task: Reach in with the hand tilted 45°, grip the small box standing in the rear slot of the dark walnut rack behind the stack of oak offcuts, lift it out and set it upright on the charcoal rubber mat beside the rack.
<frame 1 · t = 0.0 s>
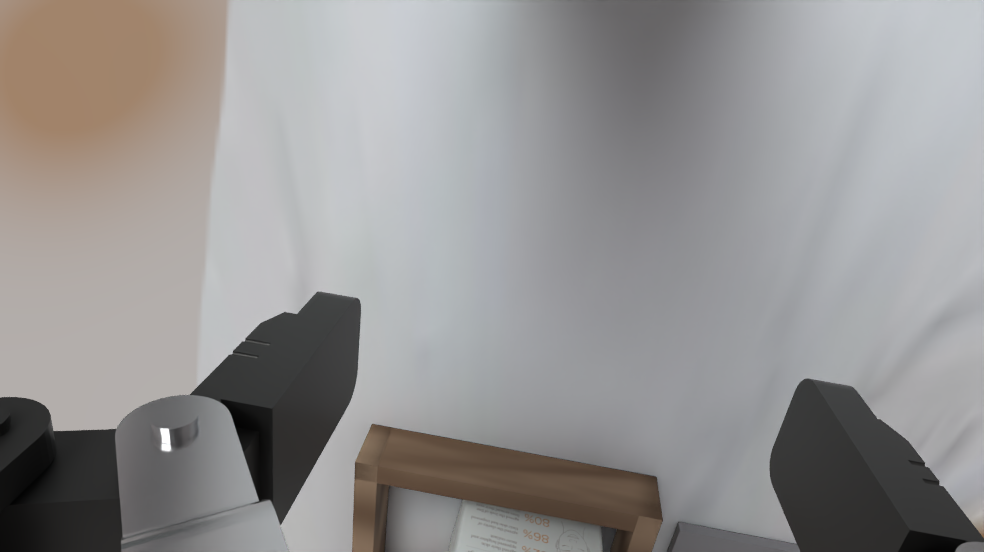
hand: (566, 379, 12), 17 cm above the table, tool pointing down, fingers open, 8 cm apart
small box: (524, 520, 38), resting in walnut rack
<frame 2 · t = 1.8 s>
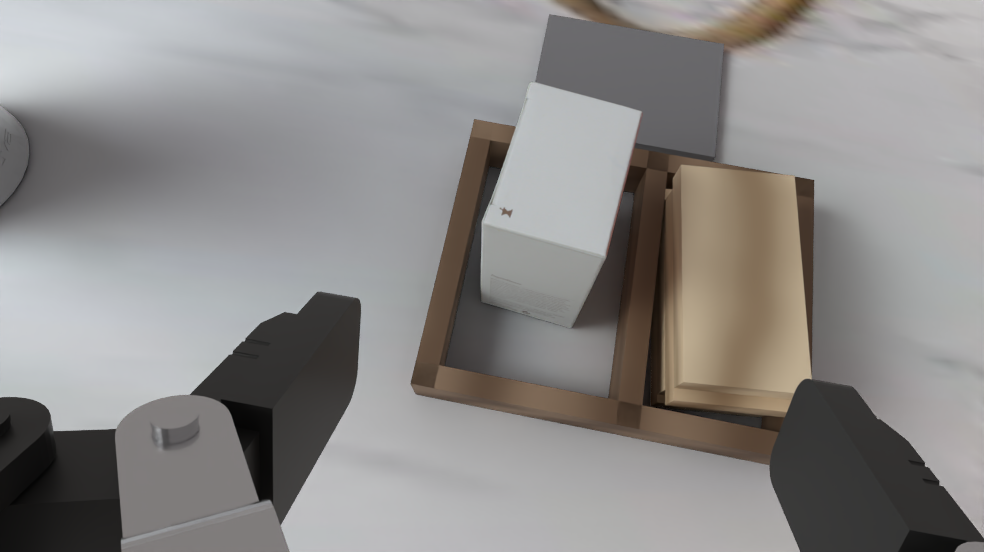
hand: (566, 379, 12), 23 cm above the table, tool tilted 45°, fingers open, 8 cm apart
small box: (542, 257, 38), resting in walnut rack
walnut rack: (614, 293, 37), on the table
charcoal mat: (626, 88, 42), on the table
offcut stack: (701, 312, 37), resting in walnut rack
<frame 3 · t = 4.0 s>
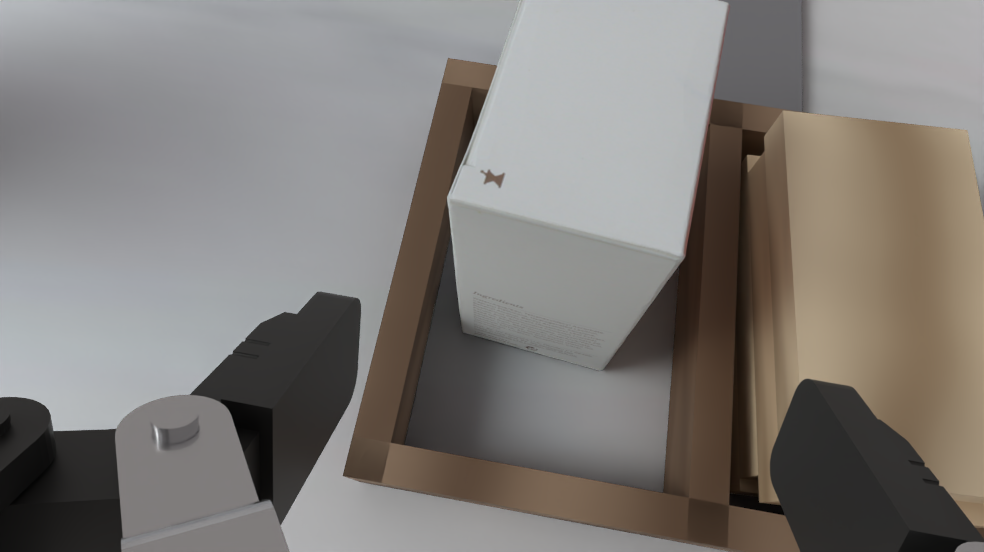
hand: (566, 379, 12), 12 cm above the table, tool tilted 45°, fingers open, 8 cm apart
small box: (554, 262, 25), resting in walnut rack
walnut rack: (665, 314, 24), on the table
charcoal mat: (666, 21, 30), on the table
offcut stack: (799, 344, 24), resting in walnut rack
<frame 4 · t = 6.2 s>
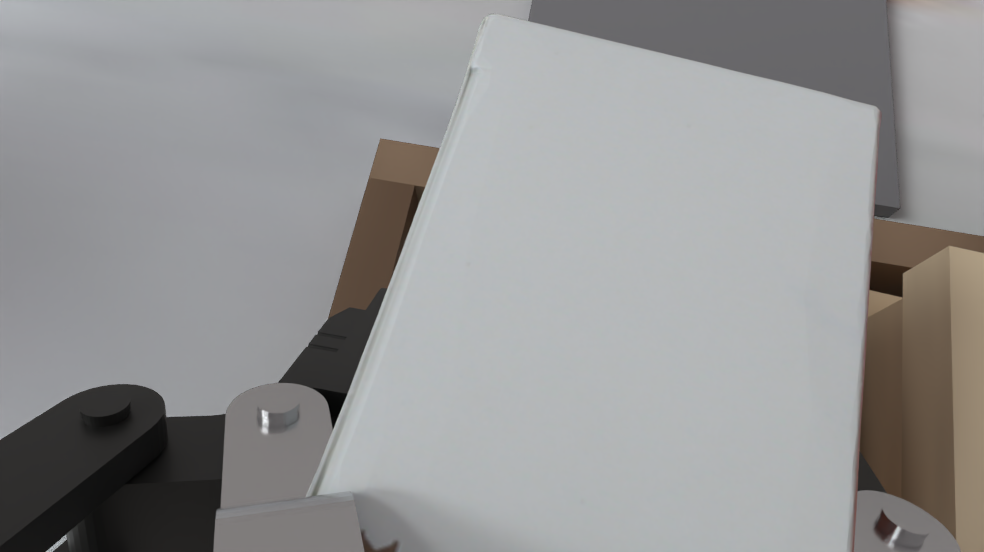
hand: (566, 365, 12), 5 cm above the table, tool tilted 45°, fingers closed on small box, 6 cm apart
small box: (539, 441, 17), resting in walnut rack, touching gripper
walnut rack: (707, 532, 16), on the table
charcoal mat: (700, 70, 21), on the table
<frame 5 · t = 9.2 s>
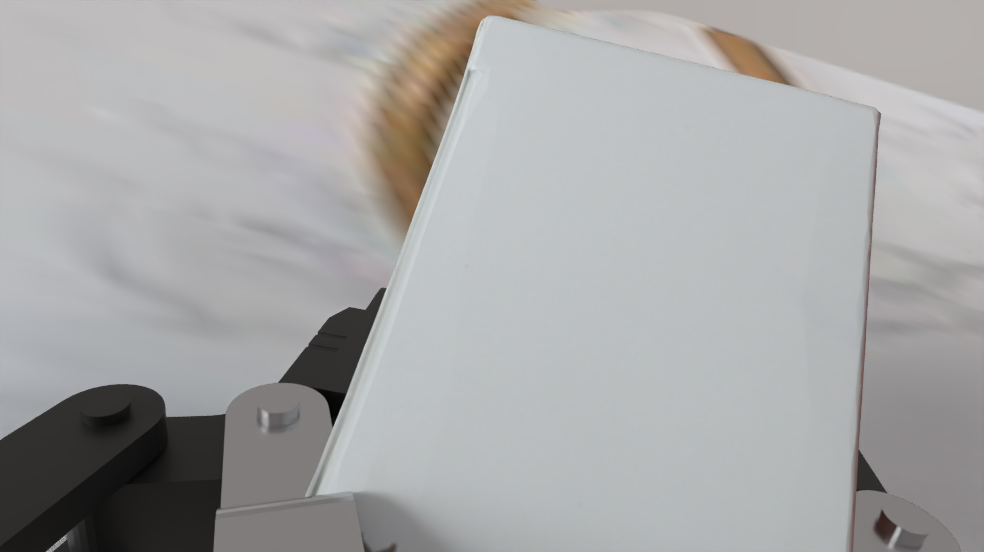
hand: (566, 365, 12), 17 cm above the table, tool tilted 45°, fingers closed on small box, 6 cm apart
small box: (539, 442, 17), point 12 cm above the table, touching gripper
when the fingers open (7 cm above the table, at t = 12.4 s): small box drops 1 cm, resting on charcoal mat.
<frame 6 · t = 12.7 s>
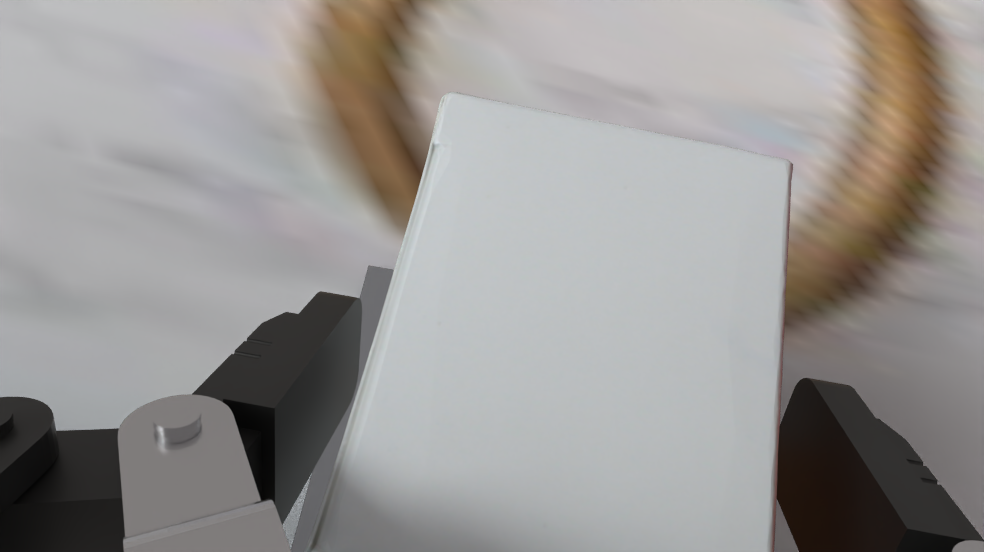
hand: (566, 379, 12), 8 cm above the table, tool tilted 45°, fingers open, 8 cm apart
small box: (524, 453, 18), resting on charcoal mat
charcoal mat: (532, 446, 19), on the table
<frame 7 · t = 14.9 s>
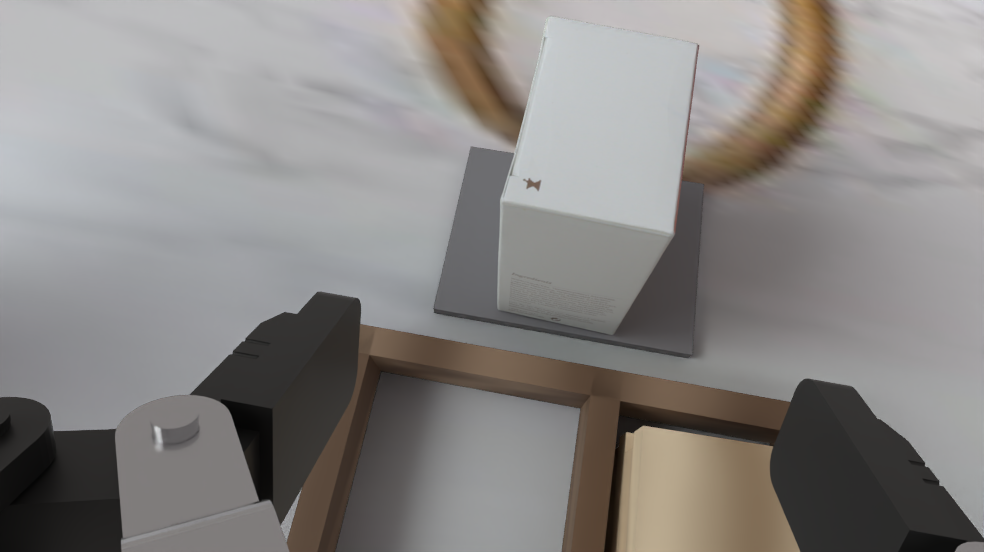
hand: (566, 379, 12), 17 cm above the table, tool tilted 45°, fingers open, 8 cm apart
small box: (568, 249, 31), resting on charcoal mat
charcoal mat: (572, 248, 31), on the table
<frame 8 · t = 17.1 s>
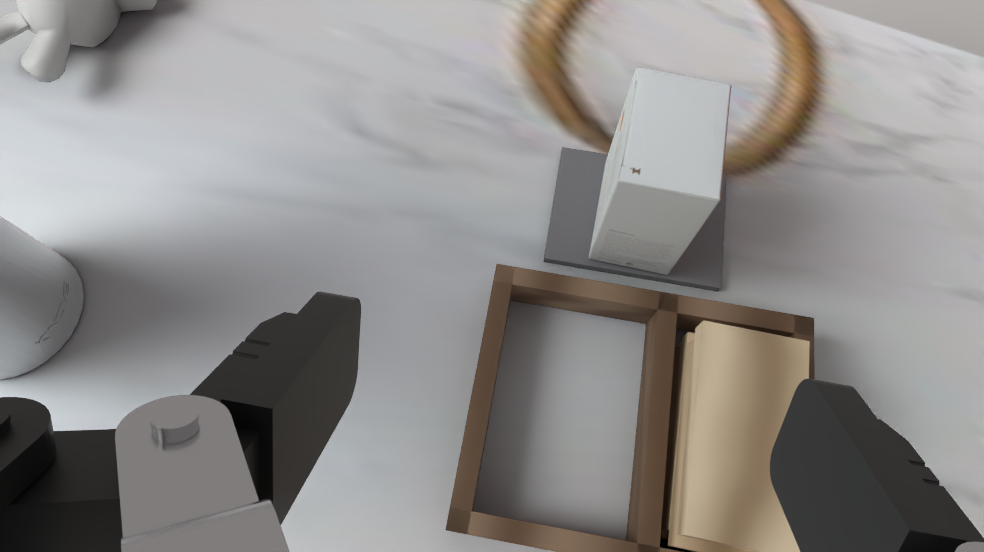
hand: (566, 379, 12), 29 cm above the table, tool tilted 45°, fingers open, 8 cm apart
bunny figurine: (94, 24, 51), on the table
small box: (634, 218, 44), resting on charcoal mat
walnut rack: (630, 424, 40), on the table
charcoal mat: (636, 218, 45), on the table
offcut stack: (712, 448, 39), resting in walnut rack
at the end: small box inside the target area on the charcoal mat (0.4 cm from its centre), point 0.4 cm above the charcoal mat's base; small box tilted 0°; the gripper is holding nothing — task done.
